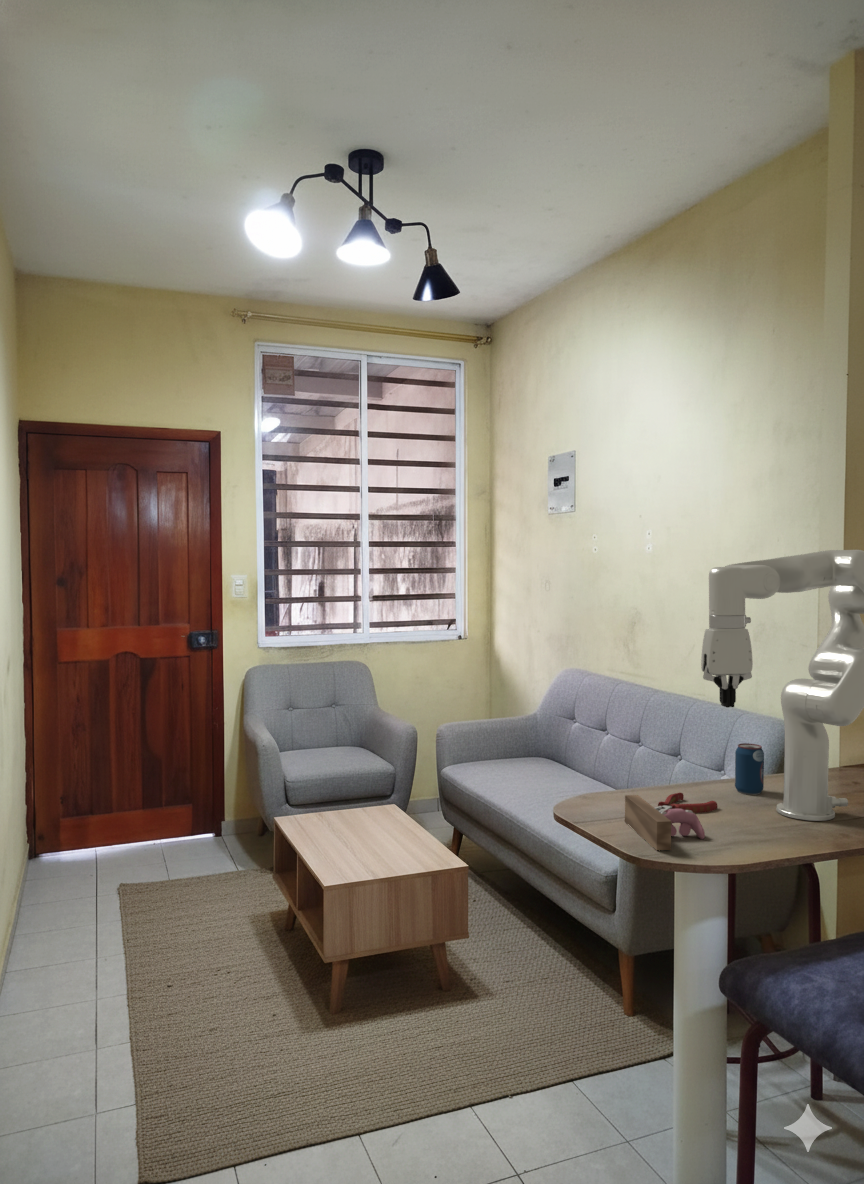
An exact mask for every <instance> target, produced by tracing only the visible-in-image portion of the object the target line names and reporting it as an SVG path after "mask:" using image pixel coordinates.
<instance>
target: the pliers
mask: <svg viewBox="0 0 864 1184" xmlns="http://www.w3.org/2000/svg"><path fill="white" fill-rule="evenodd" d="M684 799H685V797H684V793H683V792H676V793H671V794H668V796H667V797H666V798H665V801H659V802H658V803H657V806H655V807H654V808H655V809H656V810H658V811H659V812H662V811H665V810H668V809H684V810H691V811H692V812H693V813H694V814H701V813H703V814H704V813H710V812H714V811H716V810H717V809H718V803H717V801H715V800H710V801H707V802H697V803H677V802H676V801H678V802H681V801H680V800H682V801H684Z"/></svg>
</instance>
